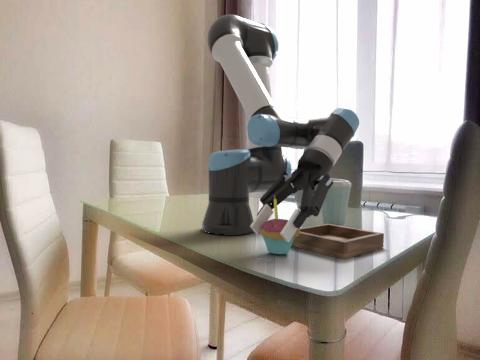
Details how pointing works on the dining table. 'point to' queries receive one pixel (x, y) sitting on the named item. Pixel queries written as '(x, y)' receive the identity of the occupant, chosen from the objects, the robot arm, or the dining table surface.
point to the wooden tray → (338, 240)
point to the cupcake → (276, 234)
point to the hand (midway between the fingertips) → (268, 233)
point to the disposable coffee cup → (336, 202)
